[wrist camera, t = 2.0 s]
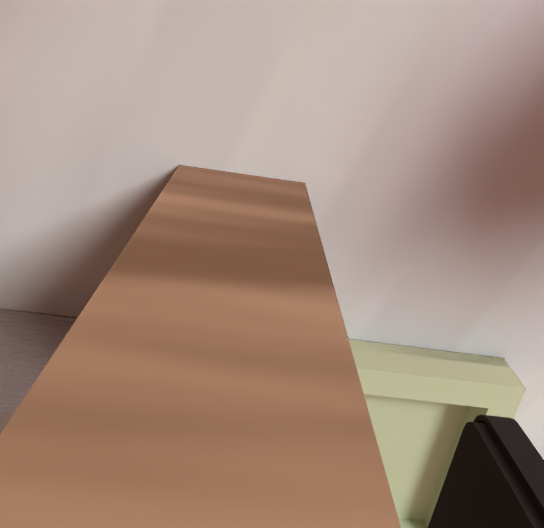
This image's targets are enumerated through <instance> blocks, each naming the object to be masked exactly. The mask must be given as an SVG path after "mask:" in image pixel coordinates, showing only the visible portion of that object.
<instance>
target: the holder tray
mask: <svg viewBox="0 0 544 528" xmlns="http://www.w3.org/2000/svg"><path fill="white" fill-rule="evenodd" d="M349 343H350V347H351V350H352V354H353V357H354V361H355V365H356V368H357V372H358V375H359V379H360V382H361V386H362V390H363V393H364V397H365V400H366V404H367V408H368V411H369V415H370V418H371V422H372V425H373V429H374V433H375V436H376V440H377V443H378V447H379V451H380V454H381V458H382V461H383V465H384V469H385V472H386V476H387V479H388V483H389V486H390V490H391V494H392V497H393V501H394V504H395V508H396V512H397V515H398V519H399V522H400V526H401V528H428V525H429V522H430V520H431V517H432V514H433V511H434V509H435V506H436V503H437V500H438V497H439V495H440V492H441V489H442V486H443V484H444V481H445V478H446V475H447V472H448V470H449V467H450V464H451V461H452V459H453V456H454V453H455V450H456V447H457V445H458V442H459V439H460V436H461V434H462V431H463V428H464V426H465V424H466V423H467V422H473V421H474V419H475V418H476V417H477V416H478V415H490V416H499V417H508V418H512V419H513V417H514V415H515V413H516V410H517V408H518V406H519V403H520V401H521V399H522V396H523V394H524V392H525V389H526V388H525V386H524V385H523V384H522V382H521V381H520V380H519V378H518V377H517V376H516V374H515V373H514V372H513V370H512V369H511V368H510V366H509V365H508V364H507V362H506V361H505V359H504V358H499V357H490V356H482V355H474V354H466V353H458V352H450V351H441V350H433V349H425V348H417V347H409V346H400V345H392V344H384V343H376V342H368V341H360V340H351V339H349Z"/></svg>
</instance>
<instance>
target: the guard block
mask: <svg viewBox="0 0 544 528" xmlns="http://www.w3.org/2000/svg"><path fill="white" fill-rule="evenodd" d="M76 319H77V318H71V317H62V316H54V315H46V314H38V313H29V312H21V311H13V310H4V309H0V434H1V432H2V431H3V429H4V428H5V426H6V425H7V423H8V422H9V420H10V419H11V417H12V416H13V414H14V413H15V411H16V410H17V408H18V407H19V405H20V404H21V402H22V401H23V399H24V398H25V396H26V395H27V393H28V392H29V390H30V389H31V387H32V386H33V384H34V383H35V381H36V379H37V378H38V376H39V375H40V373H41V372H42V370H43V369H44V367H45V366H46V364H47V363H48V361H49V360H50V358H51V357H52V355H53V354H54V352H55V351H56V349H57V348H58V346H59V345H60V343H61V342H62V340H63V339H64V337H65V336H66V334H67V333H68V331H69V330H70V328H71V327H72V325H73V324H74V322H75V321H76Z"/></svg>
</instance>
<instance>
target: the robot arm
mask: <svg viewBox="0 0 544 528" xmlns="http://www.w3.org/2000/svg"><path fill="white" fill-rule="evenodd" d="M428 528H544V460H543V459H542V457H541V456H540V454H539V453H538V451H537V450H536V449H535V447H534V446H533V444H532V443H531V441H530V440H529V438H528V437H527V436H526V434H525V433H524V431H523V430H522V428H521V427H520V426H519V424H518V423H517V422H516V421H515V420H514V419H512V418H508V417H499V416H490V415H478V416H477V417H476V418H475V419H474V421H473V422H467V423H466V424H465V426H464V428H463V431H462V434H461V436H460V439H459V442H458V445H457V447H456V450H455V453H454V456H453V459H452V461H451V464H450V467H449V470H448V472H447V475H446V478H445V481H444V484H443V486H442V489H441V492H440V495H439V497H438V500H437V503H436V506H435V509H434V511H433V514H432V517H431V520H430V522H429V525H428Z"/></svg>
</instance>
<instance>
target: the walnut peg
mask: <svg viewBox="0 0 544 528" xmlns="http://www.w3.org/2000/svg"><path fill="white" fill-rule="evenodd" d="M0 528H401V526H400V522H399V519H398V515H397V512H396V508H395V504H394V501H393V497H392V494H391V490H390V486H389V483H388V479H387V476H386V472H385V469H384V465H383V461H382V458H381V454H380V451H379V447H378V443H377V440H376V436H375V433H374V429H373V425H372V422H371V418H370V415H369V411H368V408H367V404H366V400H365V397H364V393H363V390H362V386H361V382H360V379H359V375H358V372H357V368H356V365H355V361H354V357H353V354H352V350H351V347H350V343H349V339H348V336H347V332H346V329H345V325H344V322H343V318H342V314H341V311H340V307H339V304H338V300H337V296H336V293H335V289H334V286H333V282H332V278H331V275H330V271H329V268H328V264H327V261H326V257H325V253H324V250H323V246H322V243H321V239H320V235H319V232H318V228H317V225H316V221H315V218H314V214H313V210H312V207H311V203H310V200H309V196H308V192H307V189H306V185H305V183H301V182H294V181H287V180H280V179H273V178H266V177H259V176H252V175H245V174H238V173H231V172H225V171H218V170H211V169H204V168H197V167H190V166H183V165H179V166H178V167H177V169H176V170H175V172H174V173H173V175H172V176H171V178H170V179H169V181H168V182H167V184H166V185H165V187H164V188H163V190H162V191H161V193H160V195H159V196H158V198H157V199H156V201H155V202H154V204H153V205H152V207H151V208H150V210H149V211H148V213H147V214H146V216H145V217H144V219H143V220H142V222H141V223H140V225H139V226H138V228H137V229H136V231H135V232H134V234H133V235H132V237H131V238H130V240H129V241H128V243H127V244H126V246H125V247H124V249H123V250H122V252H121V253H120V255H119V256H118V258H117V259H116V261H115V262H114V264H113V265H112V267H111V268H110V270H109V271H108V273H107V274H106V276H105V277H104V279H103V280H102V282H101V283H100V285H99V286H98V288H97V289H96V291H95V292H94V294H93V295H92V297H91V298H90V300H89V301H88V303H87V304H86V306H85V307H84V309H83V310H82V312H81V313H80V315H79V316H78V318H77V319H76V321H75V322H74V324H73V325H72V327H71V328H70V330H69V331H68V333H67V334H66V336H65V337H64V339H63V340H62V342H61V343H60V345H59V346H58V348H57V349H56V351H55V352H54V354H53V355H52V357H51V358H50V360H49V361H48V363H47V364H46V366H45V367H44V369H43V370H42V372H41V373H40V375H39V376H38V378H37V379H36V381H35V383H34V384H33V386H32V387H31V389H30V390H29V392H28V393H27V395H26V396H25V398H24V399H23V401H22V402H21V404H20V405H19V407H18V408H17V410H16V411H15V413H14V414H13V416H12V417H11V419H10V420H9V422H8V423H7V425H6V426H5V428H4V429H3V431H2V432H1V434H0Z"/></svg>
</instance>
